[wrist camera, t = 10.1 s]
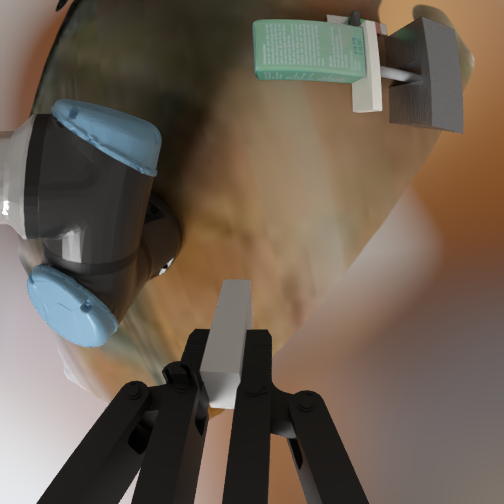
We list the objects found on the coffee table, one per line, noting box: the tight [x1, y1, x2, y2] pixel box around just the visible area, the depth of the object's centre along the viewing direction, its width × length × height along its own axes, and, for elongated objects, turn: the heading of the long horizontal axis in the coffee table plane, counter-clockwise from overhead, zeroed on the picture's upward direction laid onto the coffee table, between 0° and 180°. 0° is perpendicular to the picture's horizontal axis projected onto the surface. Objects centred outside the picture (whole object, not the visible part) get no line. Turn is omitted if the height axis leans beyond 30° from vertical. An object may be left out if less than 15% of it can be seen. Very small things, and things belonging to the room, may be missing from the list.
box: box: [252, 19, 366, 83], centre depth 27 cm, size 7×14×8 cm, turn 92°
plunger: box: [349, 11, 422, 113], centre depth 25 cm, size 13×16×8 cm
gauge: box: [326, 15, 463, 133], centre depth 24 cm, size 14×17×12 cm
